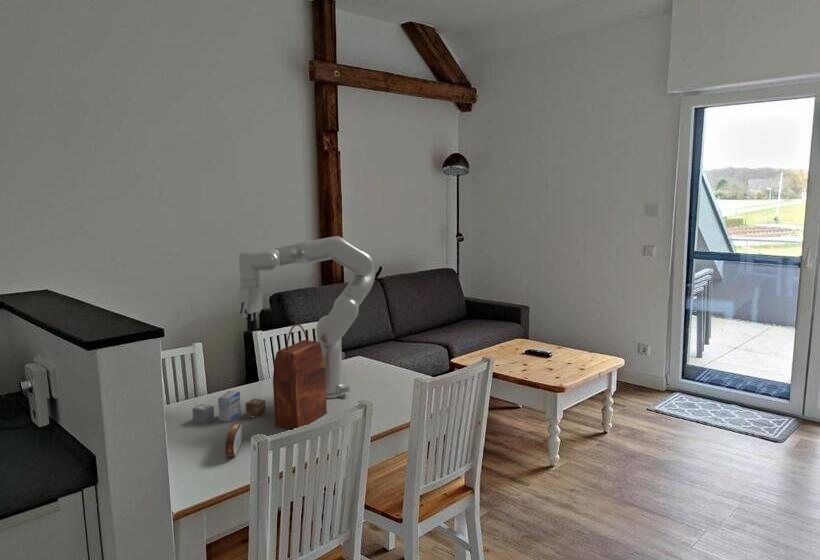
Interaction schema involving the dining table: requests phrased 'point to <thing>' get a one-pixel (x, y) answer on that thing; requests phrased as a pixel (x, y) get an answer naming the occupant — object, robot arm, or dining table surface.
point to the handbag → (299, 384)
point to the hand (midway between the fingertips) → (252, 330)
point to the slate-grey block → (203, 413)
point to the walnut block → (255, 407)
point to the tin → (234, 439)
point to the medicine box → (229, 406)
